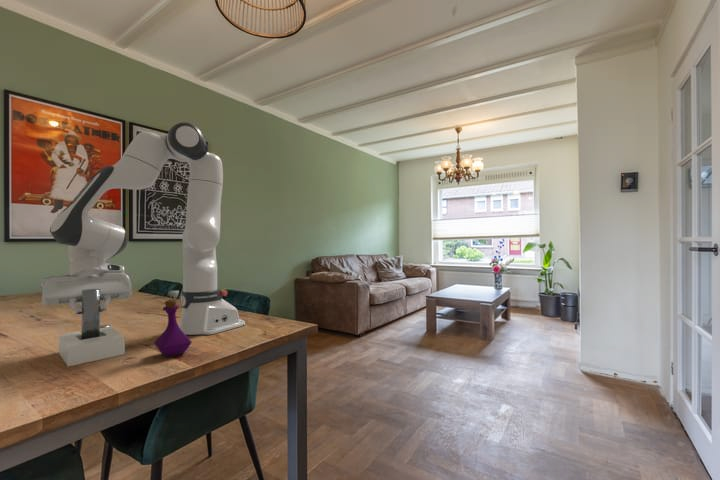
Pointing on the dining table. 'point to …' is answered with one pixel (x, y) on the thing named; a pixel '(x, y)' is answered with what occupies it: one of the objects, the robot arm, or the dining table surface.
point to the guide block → (91, 346)
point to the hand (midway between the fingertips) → (91, 311)
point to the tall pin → (90, 313)
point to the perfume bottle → (172, 332)
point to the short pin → (104, 326)
